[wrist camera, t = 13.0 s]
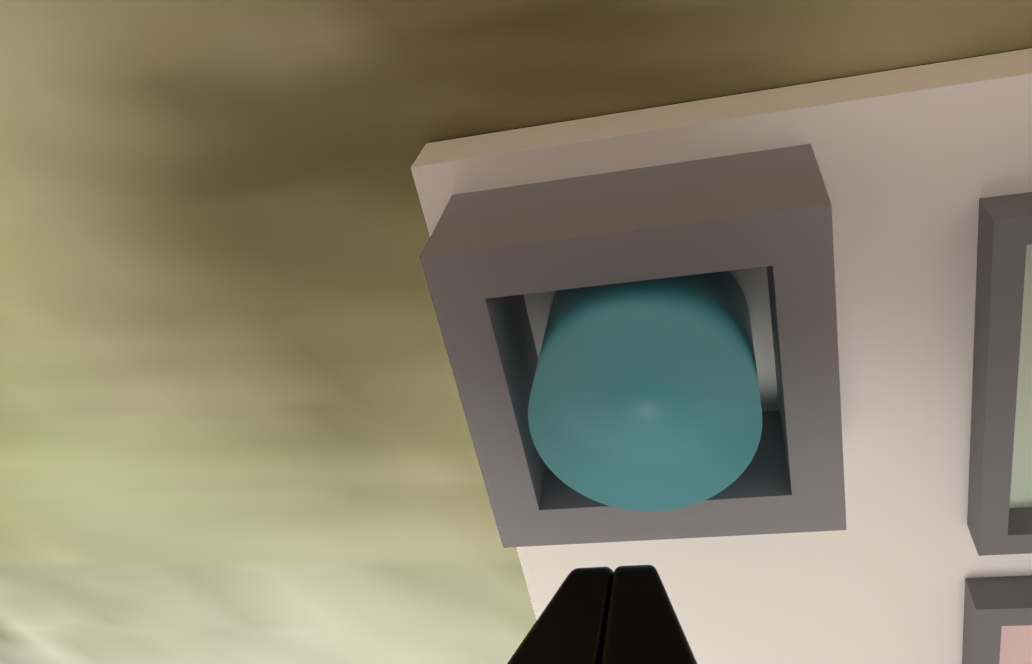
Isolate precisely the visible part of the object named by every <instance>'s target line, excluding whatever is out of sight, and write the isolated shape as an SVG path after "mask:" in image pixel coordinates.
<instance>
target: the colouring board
mask: <svg viewBox="0 0 1032 664" xmlns="http://www.w3.org/2000/svg"><path fill="white" fill-rule="evenodd" d="M411 171H412V175H413V178H414V182H415V185H416V189H417V193H418V196H419V200H420V203H421V207H422V211H423V214H424V218H425V221H426V225H427V228H428V232H429V236H430V239H429V240H428V242H427V244H426V246H425V248H424V250H423V252H422V254H421V256H420V259H421V262H422V266H423V269H424V273H425V276H426V280H427V283H428V287H429V290H430V294H431V297H432V301H433V304H434V308H435V311H436V315H437V318H438V322H439V325H440V329H441V332H442V335H443V339H444V342H445V346H446V349H447V353H448V356H449V360H450V363H451V367H452V370H453V374H454V377H455V381H456V384H457V388H458V391H459V395H460V398H461V402H462V405H463V409H464V412H465V416H466V419H467V422H468V426H469V429H470V433H471V436H472V440H473V443H474V447H475V450H476V454H477V457H478V461H479V464H480V468H481V471H482V475H483V478H484V482H485V485H486V489H487V492H488V496H489V499H490V503H491V506H492V509H493V513H494V516H495V520H496V523H497V527H498V530H499V534H500V537H501V541H502V544H503V548H506V547H516V548H517V552H518V555H519V559H520V563H521V566H522V570H523V573H524V577H525V581H526V584H527V588H528V591H529V595H530V599H531V602H532V606H533V609H534V613H535V617H536V620H538V618H539V617H540V615H541V614H542V612H543V611H544V609H545V608H546V606H547V605H548V604H549V602H550V601H551V599H552V598H553V596H554V595H555V593H556V592H557V590H558V589H559V587H560V586H561V585H562V583H563V582H564V580H565V579H566V577H567V576H568V574H569V573H570V572H571V571H572V570H574V569H576V568H589V567H609V568H610V569H612V570H613V572H614V571H615V569H616V568H617V567H619V566H632V565H652V566H654V567H655V568H656V570H657V572H658V574H659V576H660V579H661V581H662V583H663V585H664V588H665V590H666V592H667V595H668V597H669V599H670V602H671V604H672V606H673V608H674V611H675V613H676V615H677V618H678V620H679V622H680V625H681V627H682V629H683V631H684V634H685V636H686V638H687V641H688V643H689V645H690V648H691V650H692V652H693V655H694V657H695V659H696V661H697V664H1032V48H1030V49H1023V50H1017V51H1011V52H1004V53H998V54H991V55H985V56H979V57H972V58H966V59H960V60H953V61H947V62H941V63H934V64H928V65H921V66H915V67H909V68H902V69H896V70H890V71H883V72H877V73H871V74H864V75H858V76H851V77H845V78H839V79H832V80H826V81H820V82H813V83H807V84H801V85H794V86H788V87H782V88H775V89H769V90H762V91H756V92H750V93H743V94H737V95H731V96H724V97H718V98H712V99H705V100H699V101H692V102H686V103H680V104H673V105H667V106H661V107H654V108H648V109H642V110H635V111H629V112H622V113H616V114H610V115H603V116H597V117H591V118H584V119H578V120H572V121H565V122H559V123H552V124H546V125H540V126H533V127H527V128H521V129H514V130H508V131H502V132H495V133H489V134H482V135H476V136H470V137H463V138H457V139H451V140H444V141H438V142H432V143H426V145H425V146H424V148H423V149H422V151H421V152H420V154H419V155H418V157H417V158H416V160H415V162H414V163H413V165H412V166H411ZM722 271H729V272H730V273H731V274H732V276H733V277H734V279H735V280H736V281H737V283H738V284H739V286H740V288H741V290H742V292H743V294H744V296H745V299H746V302H747V305H748V309H749V314H750V321H751V329H752V337H753V345H754V353H755V361H756V368H757V376H758V384H759V392H760V400H761V408H762V433H761V439H760V442H759V445H758V448H757V451H756V453H755V455H754V457H753V459H752V461H751V462H750V464H749V465H748V466H747V468H746V469H745V471H744V472H743V473H742V474H741V475H740V476H739V477H738V478H737V479H736V480H735V481H734V482H733V483H732V484H731V485H729V486H728V487H727V488H725V489H724V490H723V491H721V492H719V493H718V494H716V495H714V496H713V497H711V498H709V499H706V500H704V501H702V502H700V503H697V504H694V505H691V506H687V507H683V508H679V509H674V510H666V511H633V510H626V509H620V508H615V507H612V506H608V505H605V504H602V503H599V502H597V501H594V500H592V499H589V498H587V497H586V496H584V495H582V494H580V493H578V492H576V491H575V490H573V489H572V488H570V487H569V486H568V485H566V484H565V483H564V482H562V481H561V480H560V479H559V478H558V477H557V476H556V475H555V474H554V473H553V472H552V471H551V470H550V469H549V468H548V467H547V465H546V464H545V462H544V461H543V460H542V458H541V457H540V455H539V453H538V451H537V449H536V447H535V445H534V443H533V440H532V437H531V434H530V429H529V423H528V405H529V399H530V394H531V389H532V385H533V381H534V377H535V372H536V368H537V364H538V359H539V355H540V351H541V346H542V342H543V338H544V333H545V329H546V325H547V321H548V316H549V312H550V308H551V304H552V301H553V298H554V294H555V292H556V291H557V290H565V289H574V288H583V287H591V286H600V285H609V284H617V283H626V282H635V281H644V280H652V279H661V278H670V277H678V276H687V275H696V274H704V273H713V272H722Z"/></svg>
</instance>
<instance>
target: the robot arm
mask: <svg viewBox="0 0 1032 664" xmlns="http://www.w3.org/2000/svg"><path fill="white" fill-rule="evenodd" d="M507 664H697V661H696V659H695V657H694V655H693V652H692V650H691V648H690V645H689V643H688V641H687V638H686V636H685V634H684V631H683V629H682V627H681V625H680V622H679V620H678V618H677V615H676V613H675V611H674V608H673V606H672V604H671V602H670V599H669V597H668V595H667V592H666V590H665V588H664V585H663V583H662V581H661V579H660V576H659V574H658V572H657V570H656V568H655V567H654V566H652V565H632V566H619V567H617V568H616V569H615V571H614V572H613V570H612V569H610V568H609V567H589V568H576V569H574V570H572V571H571V572H570V573H569V574H568V576H567V577H566V579H565V580H564V582H563V583H562V585H561V586H560V587H559V589H558V590H557V592H556V593H555V595H554V596H553V598H552V599H551V601H550V602H549V604H548V605H547V606H546V608H545V609H544V611H543V612H542V614H541V615H540V617H539V618H538V620H537V621H536V623H535V624H534V625H533V627H532V628H531V630H530V631H529V633H528V634H527V636H526V637H525V639H524V640H523V641H522V643H521V644H520V646H519V647H518V649H517V650H516V652H515V653H514V655H513V656H512V658H511V659H510V660H509V662H508V663H507Z"/></svg>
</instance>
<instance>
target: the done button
mask: <svg viewBox="0 0 1032 664" xmlns="http://www.w3.org/2000/svg"><path fill="white" fill-rule="evenodd" d="M528 423H529V429H530V434H531V437H532V440H533V443H534V445H535V447H536V449H537V451H538V453H539V455H540V457H541V458H542V460H543V461H544V462H545V464H546V465H547V467H548V468H549V469H550V470H551V471H552V472H553V473H554V474H555V475H556V476H557V477H558V478H559V479H560V480H561V481H562V482H564V483H565V484H566V485H568V486H569V487H570V488H572V489H573V490H575V491H576V492H578V493H580V494H582V495H584V496H586V497H587V498H589V499H592V500H594V501H597V502H599V503H602V504H605V505H608V506H612V507H615V508H620V509H626V510H633V511H666V510H674V509H679V508H683V507H687V506H691V505H694V504H697V503H700V502H702V501H704V500H706V499H709V498H711V497H713V496H714V495H716V494H718V493H719V492H721V491H723V490H724V489H725V488H727V487H728V486H729V485H731V484H732V483H733V482H734V481H735V480H736V479H737V478H738V477H739V476H740V475H741V474H742V473H743V472H744V471H745V469H746V468H747V466H748V465H749V464H750V462H751V461H752V459H753V457H754V455H755V453H756V451H757V448H758V445H759V442H760V439H761V433H762V408H761V400H760V392H759V384H758V376H757V368H756V361H755V353H754V345H753V337H752V329H751V321H750V314H749V309H748V305H747V302H746V299H745V296H744V294H743V292H742V290H741V288H740V286H739V284H738V283H737V281H736V280H735V279H734V277H733V276H732V274H731V273H730V272H729V271H722V272H713V273H704V274H696V275H687V276H678V277H670V278H661V279H652V280H644V281H635V282H626V283H617V284H609V285H600V286H591V287H583V288H574V289H565V290H557V291H556V292H555V294H554V298H553V301H552V304H551V308H550V312H549V316H548V321H547V325H546V329H545V333H544V338H543V342H542V346H541V351H540V355H539V359H538V364H537V368H536V372H535V377H534V381H533V385H532V389H531V394H530V399H529V405H528Z"/></svg>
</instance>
